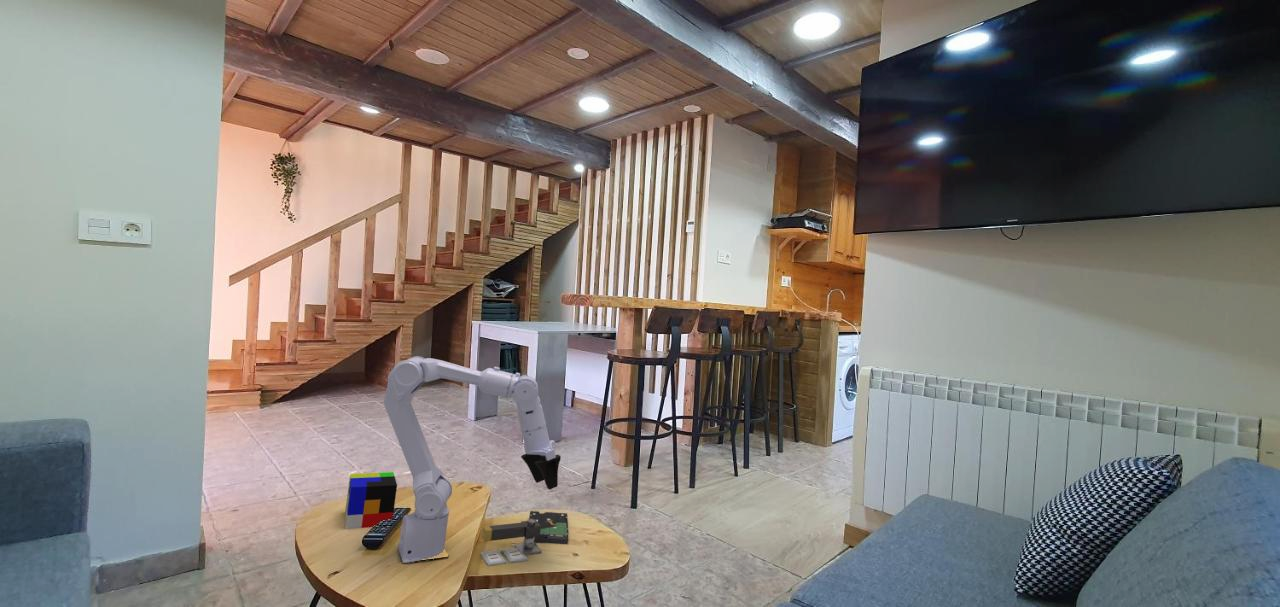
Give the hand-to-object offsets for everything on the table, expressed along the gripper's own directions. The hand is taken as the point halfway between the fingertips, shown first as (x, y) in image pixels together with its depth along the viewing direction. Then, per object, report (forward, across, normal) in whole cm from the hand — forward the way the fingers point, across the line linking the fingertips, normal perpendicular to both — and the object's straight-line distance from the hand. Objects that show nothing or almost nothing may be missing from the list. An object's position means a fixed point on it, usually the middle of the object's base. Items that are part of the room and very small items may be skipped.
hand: (546, 484), depth 122 cm
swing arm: (+10, +6, +9) cm, 15 cm away
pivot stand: (+15, +6, +6) cm, 17 cm away
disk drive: (+17, +15, -2) cm, 23 cm away
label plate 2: (+14, +4, +10) cm, 18 cm away
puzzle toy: (+2, +33, +36) cm, 48 cm away
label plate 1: (+13, +4, +14) cm, 20 cm away
